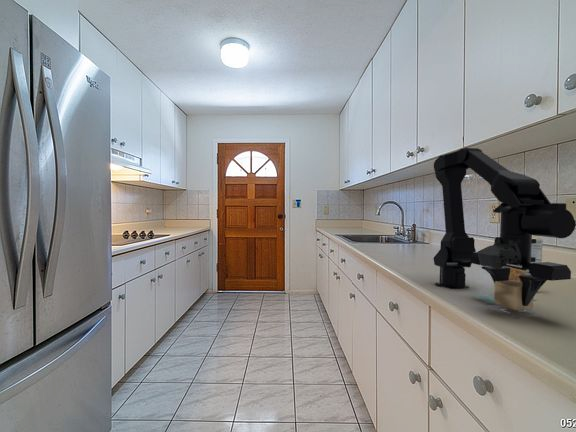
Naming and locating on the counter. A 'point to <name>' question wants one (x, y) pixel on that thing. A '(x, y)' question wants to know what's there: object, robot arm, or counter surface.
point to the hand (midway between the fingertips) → (513, 301)
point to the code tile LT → (513, 311)
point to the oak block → (510, 294)
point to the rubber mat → (486, 298)
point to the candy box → (535, 252)
